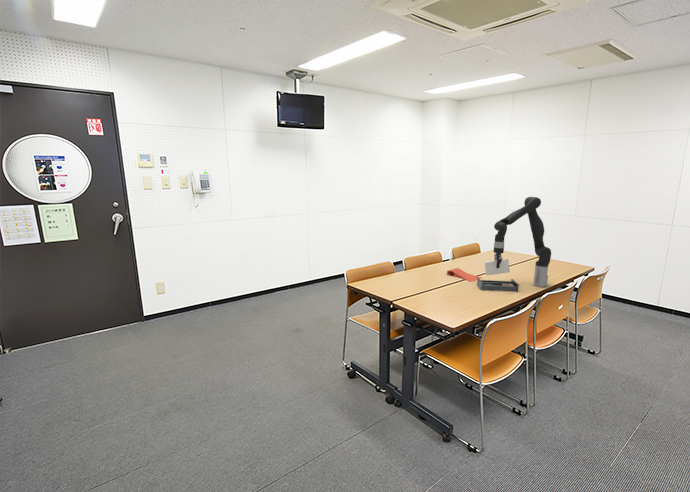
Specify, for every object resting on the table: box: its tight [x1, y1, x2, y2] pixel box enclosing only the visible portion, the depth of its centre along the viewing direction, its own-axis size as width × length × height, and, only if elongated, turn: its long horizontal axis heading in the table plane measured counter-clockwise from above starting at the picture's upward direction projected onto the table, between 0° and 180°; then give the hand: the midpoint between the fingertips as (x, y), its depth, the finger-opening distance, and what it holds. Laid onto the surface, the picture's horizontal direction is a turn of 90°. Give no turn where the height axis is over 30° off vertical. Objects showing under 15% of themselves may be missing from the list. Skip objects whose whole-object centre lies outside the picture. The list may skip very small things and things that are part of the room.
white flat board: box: [484, 258, 511, 276], centre depth 283 cm, size 18×2×11 cm, turn 82°
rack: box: [476, 278, 520, 293], centre depth 282 cm, size 28×15×6 cm, turn 82°
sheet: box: [446, 267, 483, 283], centre depth 314 cm, size 6×30×24 cm
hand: (497, 267), depth 284 cm, fingers closed on white flat board, 2 cm apart
